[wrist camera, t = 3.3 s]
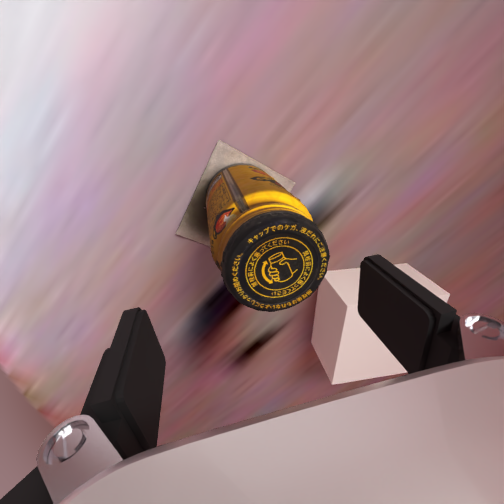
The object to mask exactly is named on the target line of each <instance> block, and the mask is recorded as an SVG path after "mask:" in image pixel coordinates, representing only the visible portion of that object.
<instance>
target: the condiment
mask: <svg viewBox="0 0 504 504" xmlns="http://www.w3.org/2000/svg"><path fill="white" fill-rule="evenodd" d="M295 184H296V183H295V182H293V181H291V180H289V179H288V178H286V177H284V176H282V175H280V174H279V173H277V172H275V171H273V170H272V169H270V168H268V167H266V166H265V165H263V164H261V163H259V162H257V161H256V160H254V159H252V158H250V157H249V156H247V155H245V154H243V153H241V152H240V151H238V150H236V149H234V148H233V147H231V146H229V145H227V144H225V143H224V142H222V141H220V140H218V143H217V145H216V147H215V149H214V151H213V153H212V156H211V158H210V160H209V162H208V164H207V167H206V169H205V171H204V173H203V175H202V177H201V180H200V182H199V184H198V186H197V188H196V190H195V193H194V195H193V197H192V200H191V202H190V204H189V206H188V208H187V210H186V212H185V215H184V217H183V219H182V222H181V224H180V226H179V228H178V230H177V232H176V234H177V235H180V236H182V237H185V238H189V239H191V240H194V241H196V242H199V243H201V244H204V245H207V246H209V247H211V253H212V257H213V259H214V261H215V263H216V265H217V267H218V268H219V269H220V270H221V276H222V277H223V281H224V284H225V285H226V286H227V290H228V291H229V292H230V293H231V294H232V295H233V296H234V297H235V298H236V299H237V301H238V302H240V303H241V304H243V305H245V306H247V307H250V308H253V309H255V310H259V311H268V312H274V311H278V310H283V309H287V308H290V307H292V306H295V305H296V304H299V303H300V302H302V301H303V300H305V299H306V298H308V297H310V296H311V294H312V293H313V292H314V291H315V290H316V289H317V288H318V286H319V285H320V284H321V282H322V280H323V279H324V277H325V275H326V273H327V265H328V261H329V258H330V255H329V249H328V246H327V243H326V240H325V238H324V236H323V234H322V232H321V231H320V230H319V229H318V227H317V225H316V224H315V223H314V222H313V220H312V217H311V215H310V213H309V212H308V210H307V208H306V207H305V206H304V205H303V204H302V203H301V201H300V200H299V199H297V198H296V197H294V196H293V195H292V194H291V193H290V191H291V190H292V188H293V187H294V185H295ZM204 207H205V208H204Z"/></svg>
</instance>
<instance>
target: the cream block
mask: <svg viewBox="0 0 504 504" xmlns="http://www.w3.org/2000/svg"><path fill="white" fill-rule="evenodd" d="M394 265H395V266H396V267H397V268H399V269H400V270H402V271H403V272H404V273H406V274H407V275H408V276H410V277H411V278H413V279H414V280H415V281H417V282H418V283H420V284H421V285H422V286H424V287H425V288H426V289H428V290H429V291H431V292H432V293H433V294H435V295H436V296H438V297H439V298H440V299H442V300H443V301H445V302H446V303H447V301H448V298H449V296H450V294H449V293H448V292H446V291H445V290H444V289H442V288H441V287H439V286H438V285H437V284H435V283H434V282H432V281H431V280H430V279H428V278H427V277H425V276H424V275H422V274H421V273H420V272H418V271H417V270H415V269H414V268H413V267H411V266H410V265H408V264H407V263H405V264H394ZM359 279H360V268H353V269H343V270H333V271H327V273H326V275H325V277H324V279H323V280H322V282H321V284H320V285H319V287H318V295H317V302H316V309H315V317H314V324H313V332H312V339H311V344H312V346H313V348H314V350H315V352H316V354H317V356H318V358H319V360H320V362H321V364H322V366H323V368H324V370H325V372H326V374H327V376H328V378H329V380H330V382H331V384H332V385H334V384H340V383H346V382H352V381H358V380H364V379H370V378H376V377H382V376H388V375H394V374H400V373H406V372H407V371H406V370H405V368H404V367H403V366H402V365H401V364H400V363H399V361H398V360H397V359H396V358H395V357H394V356H393V354H392V353H391V352H390V351H389V350H388V349H387V347H386V346H385V345H384V344H383V343H382V341H381V340H380V339H379V338H378V337H377V336H376V334H375V333H374V332H373V331H372V330H371V329H370V327H369V326H368V325H367V324H366V323H365V322H364V320H363V319H362V318H361V317H360V315H359V313H358V293H359Z"/></svg>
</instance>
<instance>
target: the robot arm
mask: <svg viewBox="0 0 504 504" xmlns="http://www.w3.org/2000/svg"><path fill="white" fill-rule="evenodd" d="M456 311H457V310H456V309H454V308H453V307H451V306H450V305H449V304H447V303H446V302H445V301H443V300H442V299H440V298H439V297H438V296H436V295H435V294H433V293H432V292H431V291H429V290H428V289H426V288H425V287H424V286H422V285H421V284H420V283H418V282H417V281H415V280H414V279H413V278H411V277H410V276H408V275H407V274H406V273H404V272H403V271H402V270H400V269H399V268H397V267H396V266H395V265H393V264H392V263H390V262H389V261H388V260H386V259H385V258H383V257H382V256H381V255H372V256H368V257H365V258H364V260H363V261H362V262H361V265H360V279H359V293H358V313H359V315H360V317H361V318H362V319H363V320H364V322H365V323H366V324H367V325H368V326H369V327H370V329H371V330H372V331H373V332H374V333H375V334H376V336H377V337H378V338H379V339H380V340H381V341H382V343H383V344H384V345H385V346H386V347H387V349H388V350H389V351H390V352H391V353H392V354H393V356H394V357H395V358H396V359H397V360H398V361H399V363H400V364H401V365H402V366H403V367H404V368H405V370H406V371H407V372H408V373H409V374H407V375H404V376H400V377H397V378H393V379H389V380H386V381H382V382H379V383H375V384H371V385H368V386H364V387H360V388H357V389H353V390H350V391H346V392H343V393H339V394H335V395H332V396H328V397H325V398H321V399H318V400H314V401H311V402H307V403H304V404H300V405H297V406H293V407H289V408H286V409H282V410H279V411H275V412H272V413H268V414H265V415H262V416H258V417H255V418H251V419H248V420H244V421H241V422H237V423H234V424H230V425H227V426H223V427H220V428H216V429H213V430H210V431H206V432H203V433H200V434H196V435H193V436H190V437H187V438H183V439H180V440H177V441H174V442H170V443H167V444H164V445H161V446H158V447H156V446H157V438H158V429H159V420H160V411H161V402H162V393H163V384H164V375H165V365H166V362H165V356H164V354H163V351H162V349H161V346H160V344H159V341H158V339H157V336H156V334H155V331H154V329H153V326H152V324H151V321H150V319H149V316H148V314H147V311H146V310H141V309H140V308H139V307H138V308H134V309H129V310H125V311H124V312H123V314H122V317H121V319H120V322H119V325H118V328H117V331H116V333H115V336H114V339H113V342H112V344H111V347H110V348H108V349H106V350H105V352H104V354H103V356H102V359H101V362H100V364H99V367H98V370H97V372H96V375H95V377H94V380H93V383H92V385H91V388H90V391H89V393H88V396H87V398H86V401H85V404H84V406H83V409H82V412H81V414H80V415H78V416H74V417H72V418H70V419H67V420H66V421H64V422H63V423H61V424H60V425H58V426H57V427H56V428H55V429H54V430H53V431H52V432H51V433H50V434H49V435H48V436H47V437H46V439H45V440H44V441H43V443H42V445H41V447H40V448H39V450H38V454H37V458H36V461H37V467H36V468H35V469H34V470H32V471H31V472H30V473H29V474H28V475H27V476H26V477H25V478H24V479H23V480H22V481H20V482H19V483H18V484H17V485H16V486H15V487H14V488H13V489H12V490H11V491H9V492H8V493H7V494H6V495H5V496H4V497H3V498H2V499H1V500H0V504H504V322H503V321H501V320H499V319H497V318H495V317H492V316H489V315H485V314H479V313H468V314H465V315H463V316H462V317H461V318H460V317H459V316H458V315H456Z"/></svg>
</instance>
